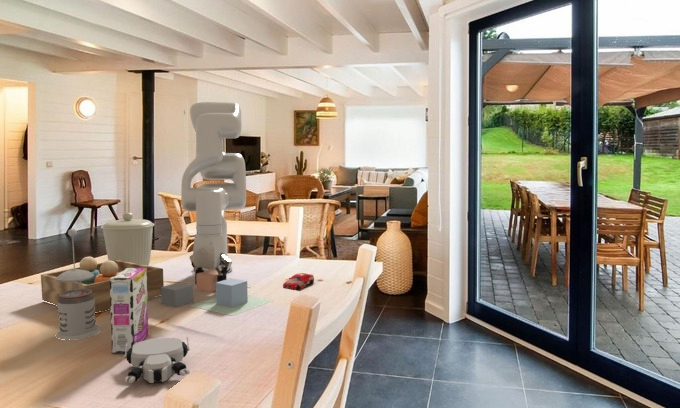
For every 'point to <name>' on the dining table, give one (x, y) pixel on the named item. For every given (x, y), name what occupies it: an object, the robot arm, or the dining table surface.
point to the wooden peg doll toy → (106, 269)
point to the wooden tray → (99, 285)
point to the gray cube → (176, 294)
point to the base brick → (231, 292)
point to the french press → (76, 305)
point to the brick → (207, 280)
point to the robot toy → (156, 359)
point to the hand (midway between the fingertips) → (210, 285)
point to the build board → (230, 311)
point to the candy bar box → (128, 308)
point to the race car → (299, 281)
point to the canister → (128, 239)
